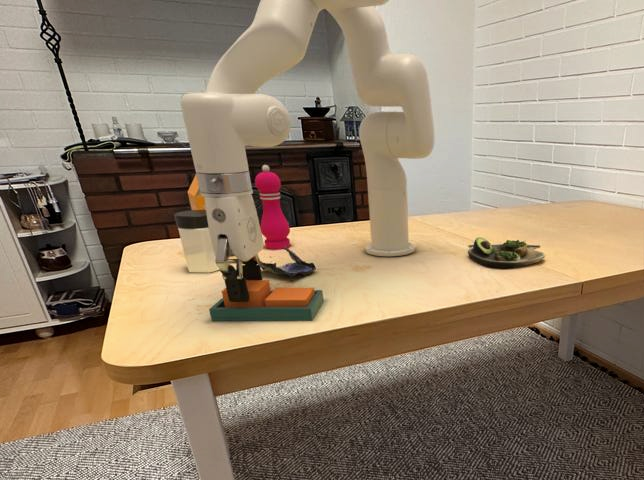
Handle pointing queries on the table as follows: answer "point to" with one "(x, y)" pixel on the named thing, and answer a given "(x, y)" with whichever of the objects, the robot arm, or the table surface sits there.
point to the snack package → (290, 266)
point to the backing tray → (266, 311)
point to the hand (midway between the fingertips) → (247, 293)
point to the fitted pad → (290, 297)
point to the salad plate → (504, 253)
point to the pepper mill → (272, 210)
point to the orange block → (251, 295)
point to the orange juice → (196, 196)
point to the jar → (196, 241)
